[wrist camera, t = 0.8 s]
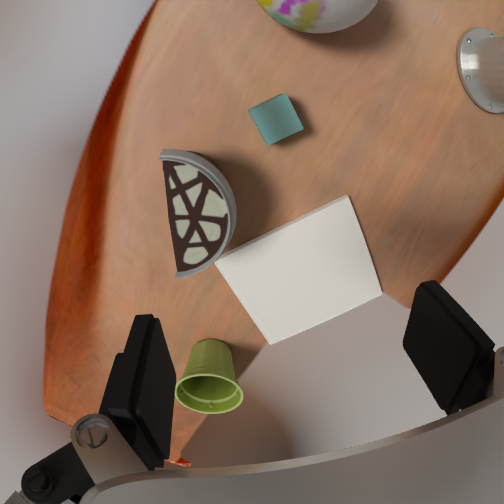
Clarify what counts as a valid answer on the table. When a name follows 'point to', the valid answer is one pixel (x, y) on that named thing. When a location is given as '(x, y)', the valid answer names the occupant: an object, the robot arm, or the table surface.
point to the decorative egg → (318, 13)
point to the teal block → (275, 118)
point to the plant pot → (209, 379)
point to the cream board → (303, 271)
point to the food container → (197, 209)
